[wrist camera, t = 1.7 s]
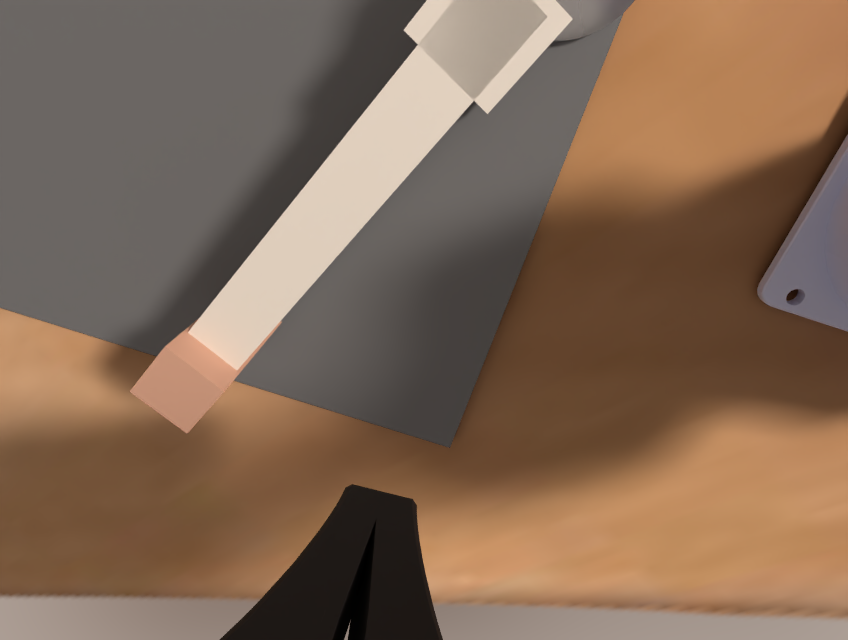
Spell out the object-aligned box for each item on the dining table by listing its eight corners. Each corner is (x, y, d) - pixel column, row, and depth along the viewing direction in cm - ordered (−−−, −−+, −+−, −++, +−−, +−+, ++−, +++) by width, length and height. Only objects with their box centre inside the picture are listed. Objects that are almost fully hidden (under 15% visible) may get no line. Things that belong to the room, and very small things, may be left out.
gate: (484, -39, 14) (486, -92, 10) (551, 33, 14) (581, 12, 10) (200, 316, 18) (119, 384, 14) (258, 362, 19) (196, 440, 15)
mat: (747, -307, 12) (756, -319, 12) (450, 441, 21) (449, 447, 20) (-104, -621, 12) (-123, -645, 11) (-55, 283, 20) (-65, 287, 20)
